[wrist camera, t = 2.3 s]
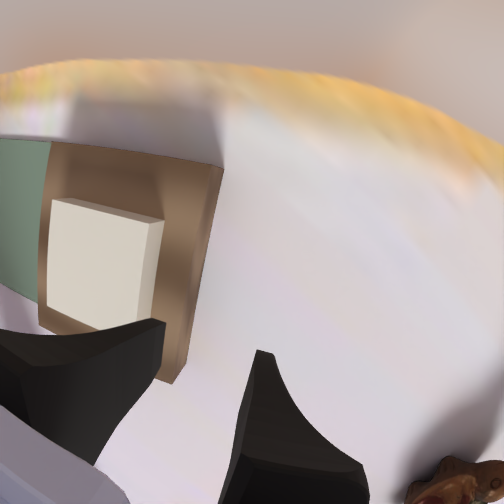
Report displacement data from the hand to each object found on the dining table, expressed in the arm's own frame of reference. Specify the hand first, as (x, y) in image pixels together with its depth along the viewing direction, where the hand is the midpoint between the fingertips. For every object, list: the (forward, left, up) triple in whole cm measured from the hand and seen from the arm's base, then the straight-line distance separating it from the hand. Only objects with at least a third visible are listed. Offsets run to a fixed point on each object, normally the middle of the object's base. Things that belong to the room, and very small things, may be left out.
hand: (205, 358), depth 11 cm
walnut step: (0, +9, -9) cm, 13 cm away
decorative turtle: (-16, -24, -10) cm, 30 cm away
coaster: (0, +9, -6) cm, 11 cm away
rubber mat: (0, +21, -9) cm, 23 cm away
